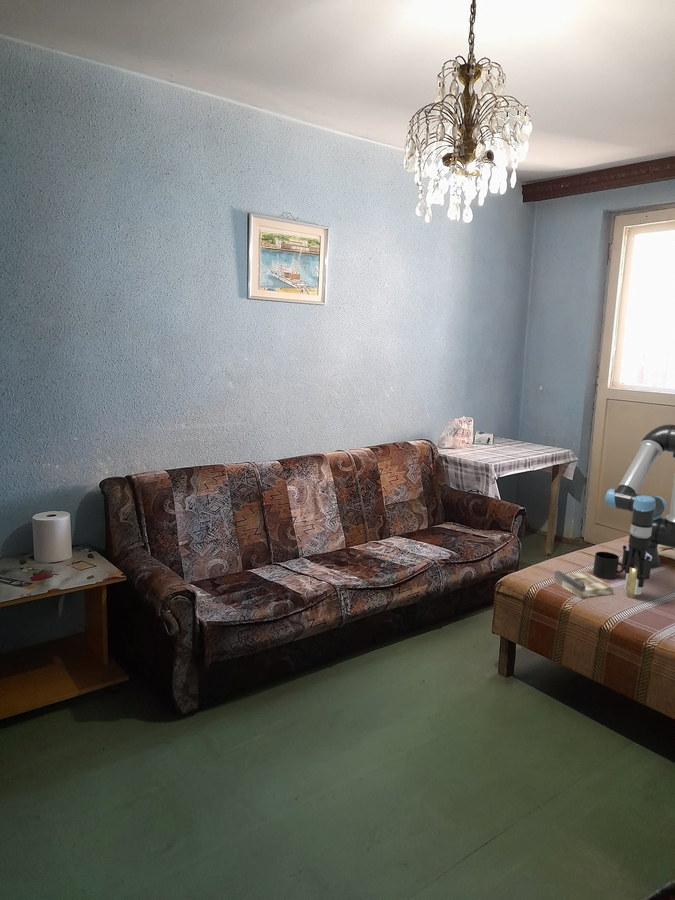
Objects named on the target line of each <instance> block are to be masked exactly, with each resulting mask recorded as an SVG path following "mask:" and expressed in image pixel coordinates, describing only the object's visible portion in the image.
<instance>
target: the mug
mask: <svg viewBox="0 0 675 900" xmlns="http://www.w3.org/2000/svg"><path fill="white" fill-rule="evenodd" d="M619 561H620V557H619V555H617V554H615V553H612V552H609V551H596V552H595V555H594V561H593V571H592V573H593V576H594V577H596V578H597V577H598V578H599V579H603V580H604V579H605V580H615V579H616V578H617V576H618V574H621V573H624V572H625V571H624V570H622V569H621V570H618V569H619V566H620V567H621V568H622V562H619Z"/></svg>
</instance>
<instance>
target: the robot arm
mask: <svg viewBox="0 0 675 900" xmlns="http://www.w3.org/2000/svg"><path fill="white" fill-rule="evenodd" d="M638 447H639V449H638V452H636V455H635V457H634V458H633V460H632V461H631V463H630V465H629V467H628V469H627V471H626V472H625V474H624V475H623V477H622V479H621V481H620V482H619V484H618V486H617V487H616V488H609V489H608V490H607V492H606V494H605V496H604V497H605V498H604V499H605V504H606V506H608V507H610V508H612V509H613V508H614V509H618V510H622V511H628V512H631V513H632V515H631V522H630V528H629V529H630V530H629V533H630V534H629V537H628V544H627V545H626V544H625V545H623V546H622V550H623V552H622V553H623V554H622V561H621V564H622V567H621V570H624V571H623V572H624V590H627V584H628V576H629V569H630V566H637V567H638V578H636V585H635V593H634V594H635V595H638V594H639V595H642V591H643V588H644V586H645V580H650V577H651V571H652V570H651V568H657V567H659V566H660V562H661V559H660V557H659V551H658V546H659V545H661V546H665V547H669V548H671V549H675V474H674V476H673V483H672V492H671V500H670V508H669V513H668V514H667V515H665V517H664V518H663V513H665V512H666V510H667V509H668V503H667V501H666V500H665V498H663V497H661V496H659V495H658V496H657V495H655V496H651V495H650V496H649V495H642V494H638V491H639V489H640V488H641V486H642V484H643V482H644V481H645V478H647V476H648V474H649V472H650V470H651V468H652V466H653V464H654V463H655V461H656V459H658V457H659V456H661V455H662V454H663V453H664V452H670V453H671V452H672V458H673V459H674V460H675V424H662V425H660V426H657V427H655V428H653V429H652V430H650V431H648V433H646V435H645V436H644V437H643V438H642V439H641V441H640V442H639V446H638ZM639 595H638V596H639Z"/></svg>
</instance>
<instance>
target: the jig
mask: <svg viewBox="0 0 675 900" xmlns="http://www.w3.org/2000/svg"><path fill="white" fill-rule="evenodd" d="M554 582H555V583H556V584H555V583H554ZM553 583H554V584H555V585H557V584H558V585H557V586H559V587H560V586H561V588H562V587H563V588H562V589H564V590H565V589H566V591H567V590H568V591H567V592H569V591H570V592H571V594H572V593H573V594H572V595H574V594H575V595H576V596H575V595H574V596H575V597H577V596H578V597H577V598H579V599H585V597H586V598H591V597H590V596H594V597H599V596H598V595H601V596H607V595H613V592H614V586H613V585H610V584H609V583H607V582H605V581H603V580H601V578H599V577H598V578H597V576H595V575H592V574H590V573H589V572H587V571H585V572H576V573H567V574H566V573H563V572H562V571H560V570H555V571H554V577H553ZM583 584H584V585H583ZM570 592H569V593H570Z"/></svg>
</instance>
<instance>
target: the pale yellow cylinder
mask: <svg viewBox="0 0 675 900" xmlns="http://www.w3.org/2000/svg"><path fill="white" fill-rule="evenodd" d="M636 578H638V566H636V565H634V566H630V569H629V576H628V584H627V589H626V592H625V597H626V598H629V599H633V600H634V599H635V600H637V599H639V595H640V594H638V595H635V594H634V593H635V585H636Z"/></svg>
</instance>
